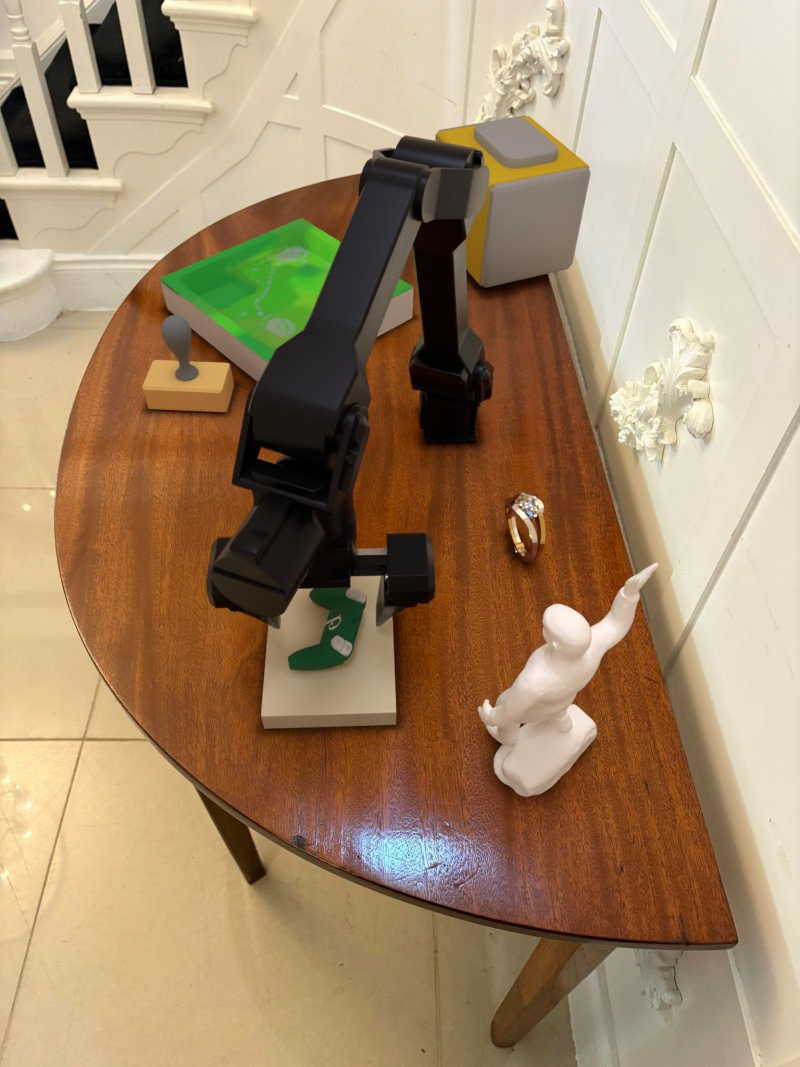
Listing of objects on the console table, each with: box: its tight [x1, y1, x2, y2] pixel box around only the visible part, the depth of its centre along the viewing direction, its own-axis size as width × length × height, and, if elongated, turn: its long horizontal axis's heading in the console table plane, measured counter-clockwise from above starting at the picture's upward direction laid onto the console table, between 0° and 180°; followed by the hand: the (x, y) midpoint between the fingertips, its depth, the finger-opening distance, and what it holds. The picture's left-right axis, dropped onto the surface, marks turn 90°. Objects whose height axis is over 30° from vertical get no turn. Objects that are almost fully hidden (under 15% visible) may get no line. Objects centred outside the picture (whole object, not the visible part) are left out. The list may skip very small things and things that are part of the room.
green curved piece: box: [288, 587, 367, 671], centre depth 73 cm, size 9×4×6 cm
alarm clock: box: [434, 115, 591, 289], centre depth 115 cm, size 20×16×18 cm
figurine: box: [477, 562, 659, 798], centre depth 60 cm, size 12×8×25 cm
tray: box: [159, 217, 414, 382], centre depth 110 cm, size 25×25×5 cm
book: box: [260, 576, 397, 730], centre depth 75 cm, size 12×16×2 cm
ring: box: [504, 492, 547, 562], centre depth 81 cm, size 7×3×8 cm, turn 14°
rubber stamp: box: [141, 314, 235, 413], centre depth 95 cm, size 10×6×12 cm, turn 87°
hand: (328, 623), depth 72 cm, fingers open, 9 cm apart
